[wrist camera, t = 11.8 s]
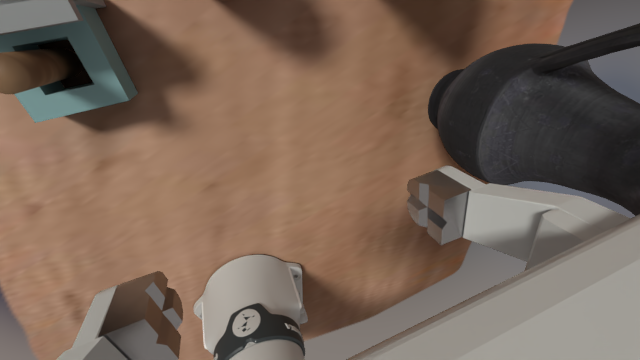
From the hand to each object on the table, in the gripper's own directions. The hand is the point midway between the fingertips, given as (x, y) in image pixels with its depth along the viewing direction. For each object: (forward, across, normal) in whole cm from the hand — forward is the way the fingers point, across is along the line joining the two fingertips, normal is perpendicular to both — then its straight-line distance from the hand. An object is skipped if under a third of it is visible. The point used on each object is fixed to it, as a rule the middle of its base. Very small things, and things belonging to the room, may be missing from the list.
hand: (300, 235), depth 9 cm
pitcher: (+29, -32, +8) cm, 44 cm away
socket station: (+29, +14, -6) cm, 33 cm away
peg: (+29, +15, -6) cm, 33 cm away
